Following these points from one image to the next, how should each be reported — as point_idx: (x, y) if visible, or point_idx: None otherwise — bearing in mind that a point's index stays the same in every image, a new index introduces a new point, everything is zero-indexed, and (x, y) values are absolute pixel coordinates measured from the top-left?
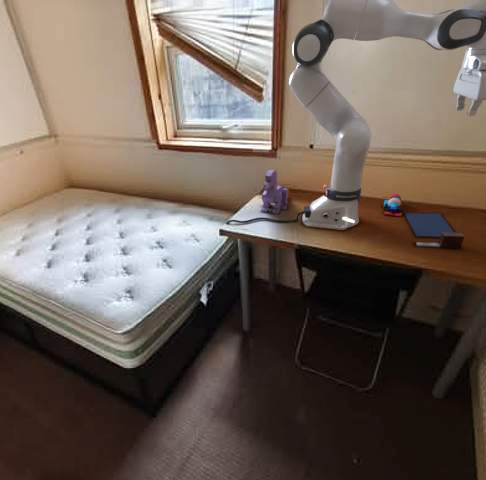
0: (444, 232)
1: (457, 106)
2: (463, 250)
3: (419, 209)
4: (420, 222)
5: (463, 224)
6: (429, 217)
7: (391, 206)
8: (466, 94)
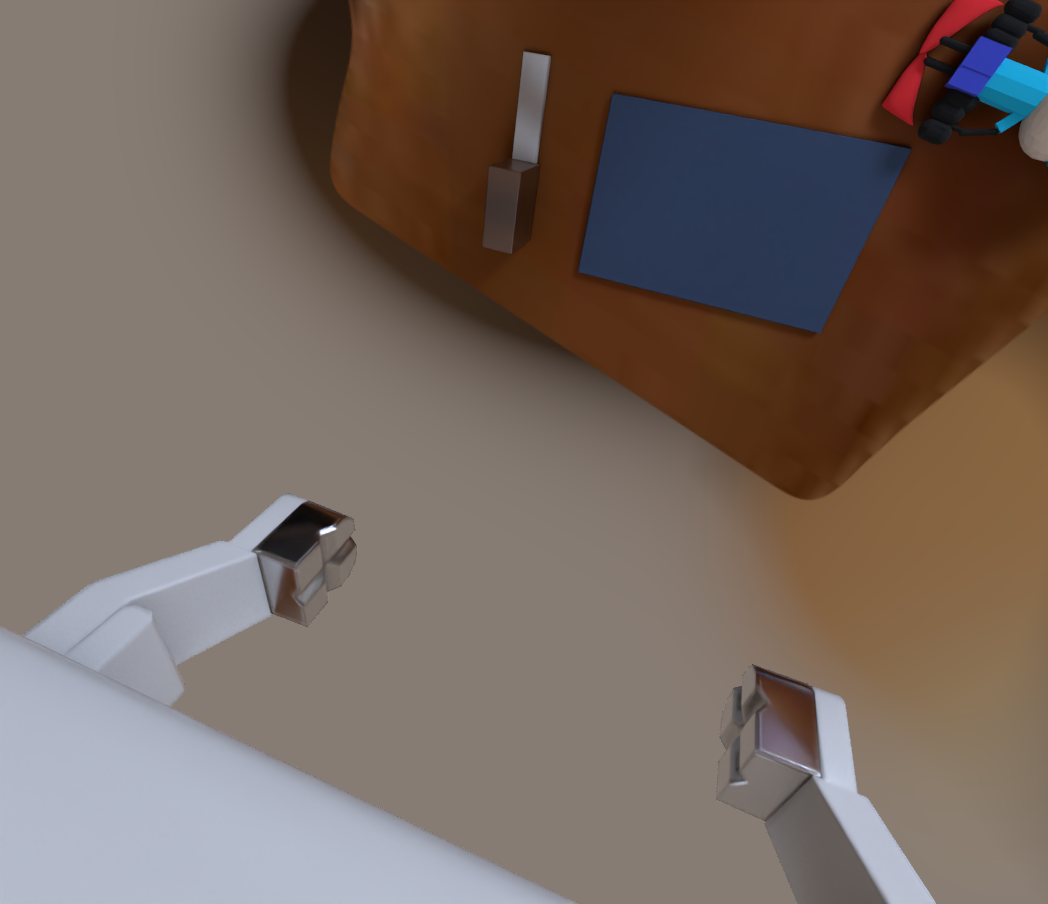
0: (518, 183)
1: (797, 729)
2: None
3: (934, 269)
4: (755, 185)
5: (691, 363)
6: (798, 261)
7: (1021, 66)
8: (223, 809)
